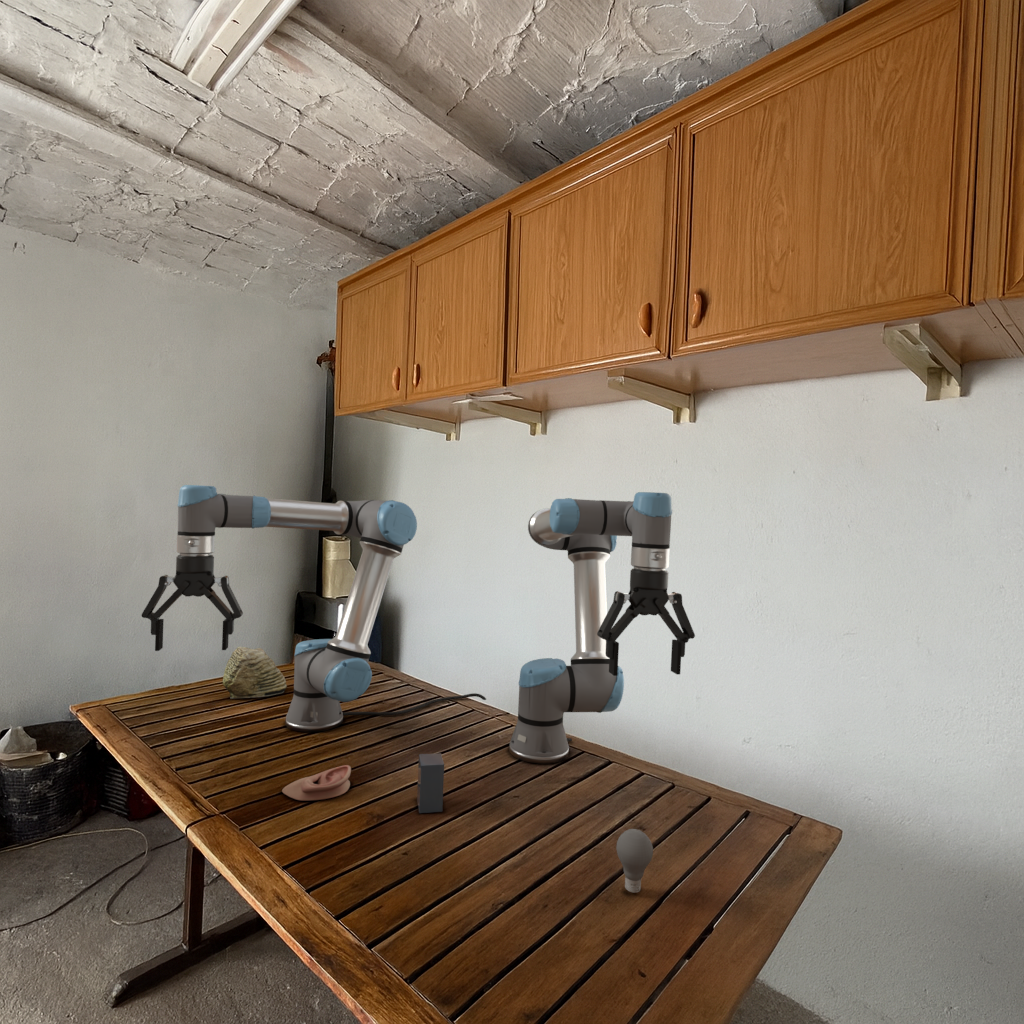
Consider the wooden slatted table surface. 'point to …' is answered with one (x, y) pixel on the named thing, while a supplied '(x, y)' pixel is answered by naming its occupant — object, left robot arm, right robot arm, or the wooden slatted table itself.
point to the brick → (430, 783)
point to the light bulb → (634, 857)
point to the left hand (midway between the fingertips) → (192, 649)
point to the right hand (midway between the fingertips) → (644, 673)
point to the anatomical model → (320, 785)
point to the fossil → (252, 674)
